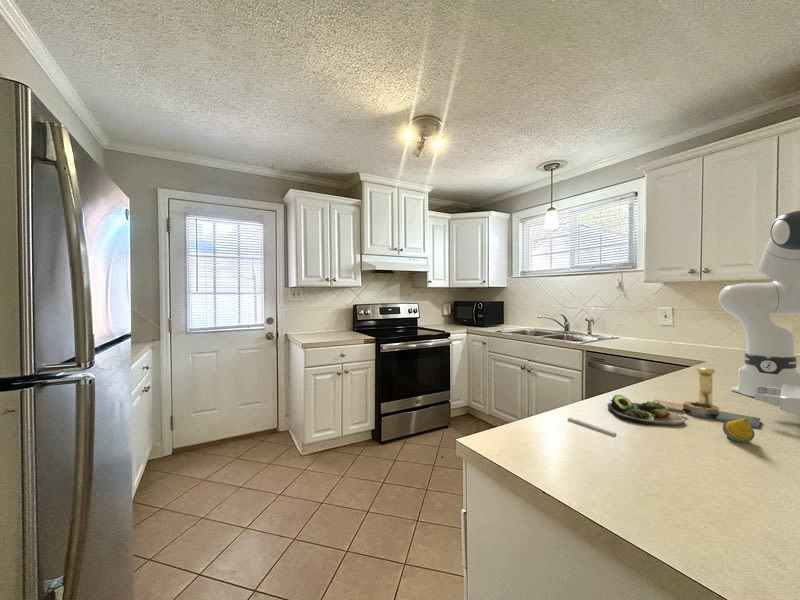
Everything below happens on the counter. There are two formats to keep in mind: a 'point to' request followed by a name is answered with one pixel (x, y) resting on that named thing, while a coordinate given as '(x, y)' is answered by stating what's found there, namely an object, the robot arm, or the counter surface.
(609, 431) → the white rod
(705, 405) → the hinge
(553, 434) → the counter surface
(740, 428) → the lemon wedge on dish
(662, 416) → the salad plate
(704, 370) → the hinge pin
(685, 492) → the counter surface
